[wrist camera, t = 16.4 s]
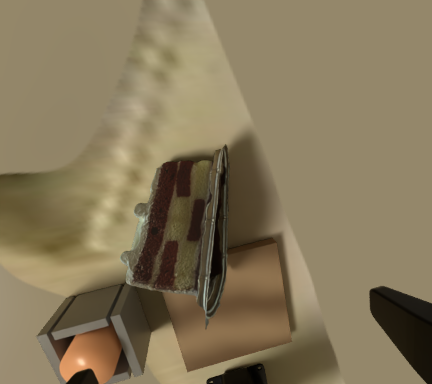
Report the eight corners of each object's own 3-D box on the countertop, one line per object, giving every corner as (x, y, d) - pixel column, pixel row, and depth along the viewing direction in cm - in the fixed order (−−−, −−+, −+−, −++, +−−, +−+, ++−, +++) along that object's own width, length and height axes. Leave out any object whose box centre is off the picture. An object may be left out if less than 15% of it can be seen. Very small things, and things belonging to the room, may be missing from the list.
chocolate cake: (140, 133, 17) (51, 297, 11) (228, 133, 16) (192, 322, 9) (174, 200, 25) (135, 321, 18) (236, 204, 24) (219, 337, 17)
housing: (151, 332, 22) (143, 374, 18) (89, 349, 21) (67, 396, 17) (132, 281, 20) (119, 314, 16) (65, 298, 20) (36, 336, 16)
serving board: (287, 333, 24) (292, 341, 23) (187, 362, 23) (187, 371, 22) (272, 237, 21) (276, 242, 20) (157, 267, 20) (156, 273, 19)
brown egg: (135, 330, 21) (122, 379, 17) (95, 341, 21) (70, 394, 16) (123, 297, 20) (105, 339, 16) (80, 308, 20) (50, 354, 15)
